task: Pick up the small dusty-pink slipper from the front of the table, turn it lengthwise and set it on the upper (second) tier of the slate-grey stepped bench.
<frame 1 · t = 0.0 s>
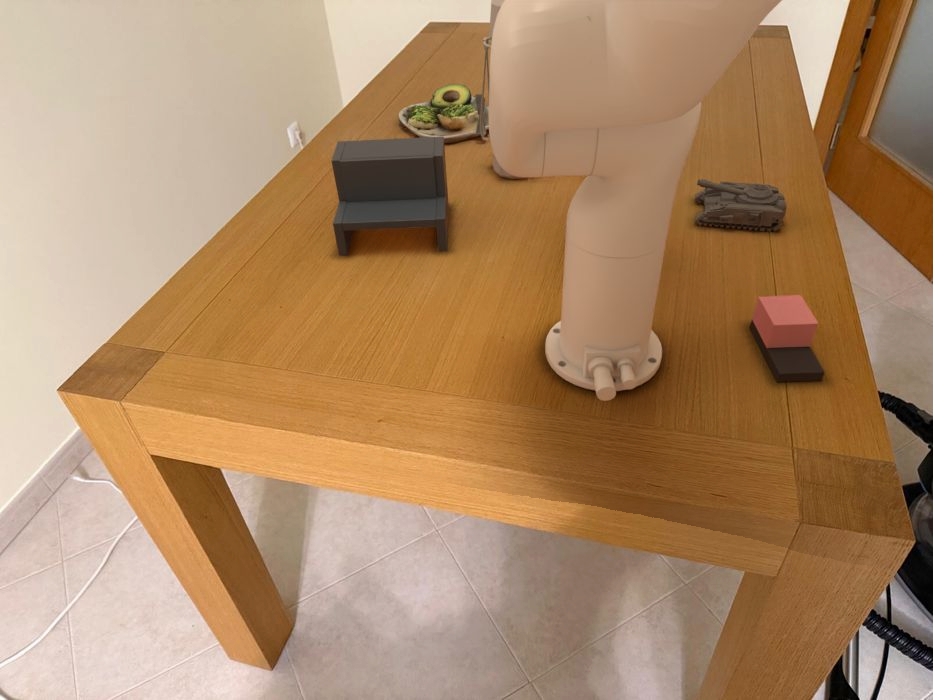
bench: (396, 230, 97), on the table
water bottle: (509, 171, 110), on the table
tank toy: (735, 216, 96), on the table
slipper: (783, 352, 74), on the table
salad plate: (449, 123, 125), on the table
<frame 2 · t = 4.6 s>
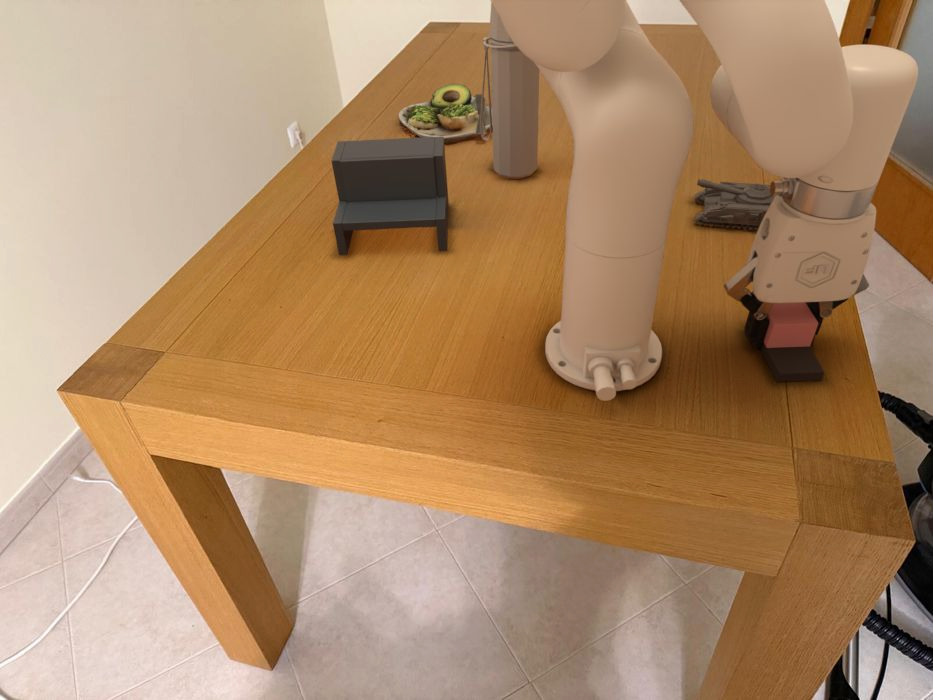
hand: (778, 338, 75), 0 cm above the table, tool pointing down, fingers closed on slipper, 4 cm apart
slipper: (783, 352, 74), on the table, touching gripper
everything else where it was.
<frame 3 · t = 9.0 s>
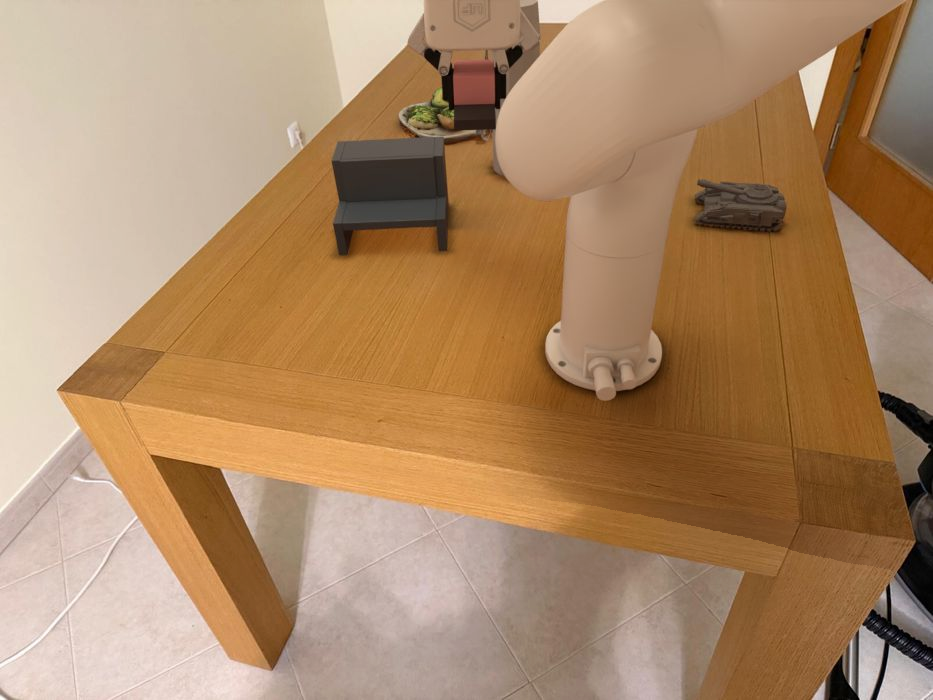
hand: (474, 103, 79), 20 cm above the table, tool pointing down, fingers closed on slipper, 4 cm apart
slipper: (474, 113, 78), point 19 cm above the table, touching gripper
everything else where it was.
when the fingers open (11 cm above the table, at t = 13.5 s): slipper stays where it is, resting on bench.
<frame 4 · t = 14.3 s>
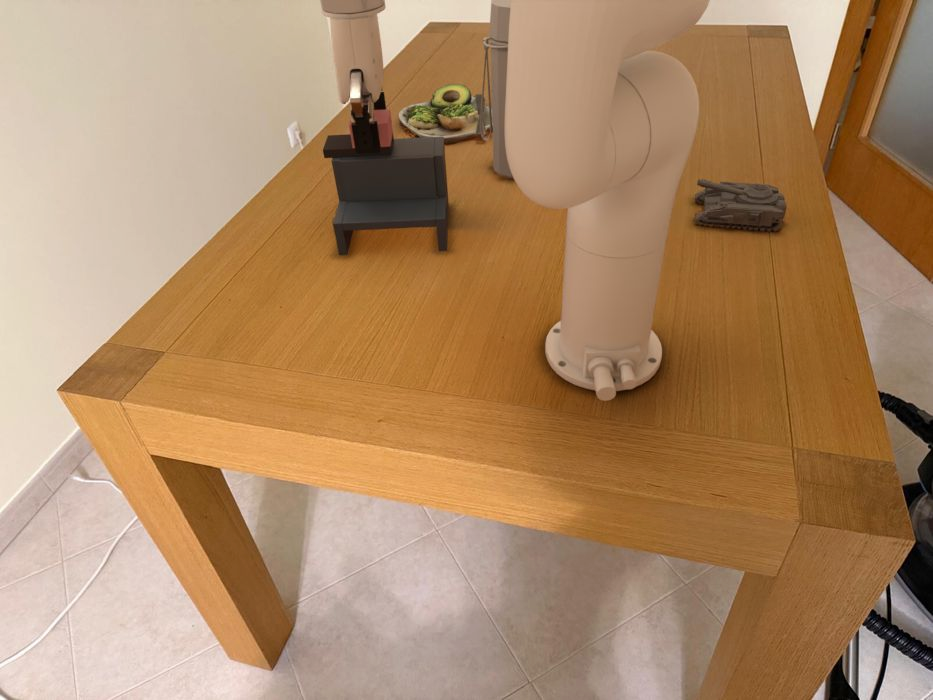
hand: (372, 136, 91), 13 cm above the table, tool pointing down, fingers open, 9 cm apart
slipper: (359, 149, 92), point 11 cm above the table, touching bench
everything else where it was.
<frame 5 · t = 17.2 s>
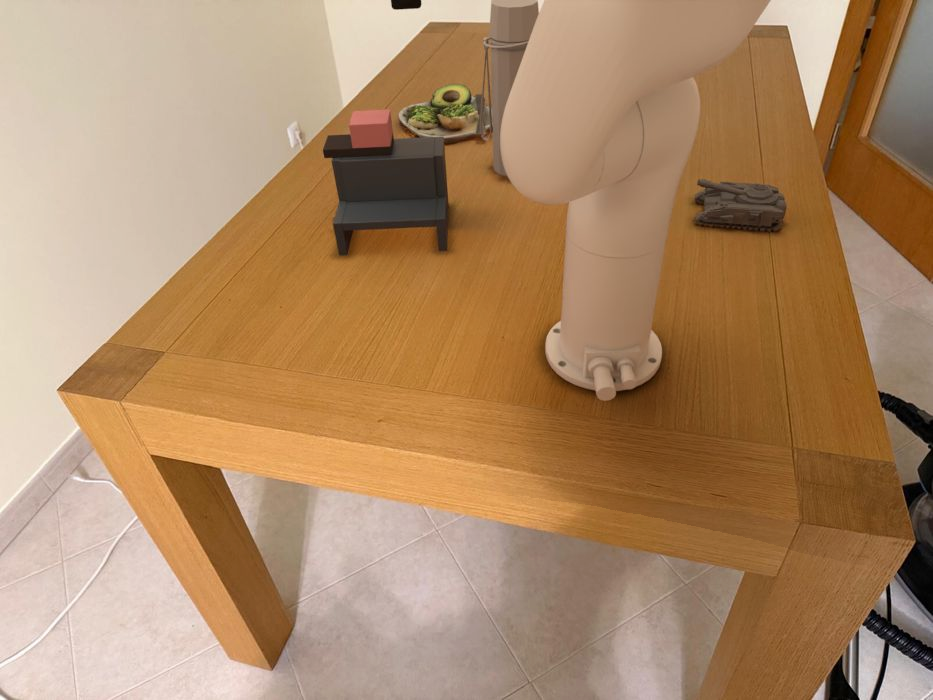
nothing on the table moved.
at the end: slipper inside the target area on the bench (3.9 cm from its centre), point 11.0 cm above the bench's base; slipper tilted 0°; the gripper is holding nothing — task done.
